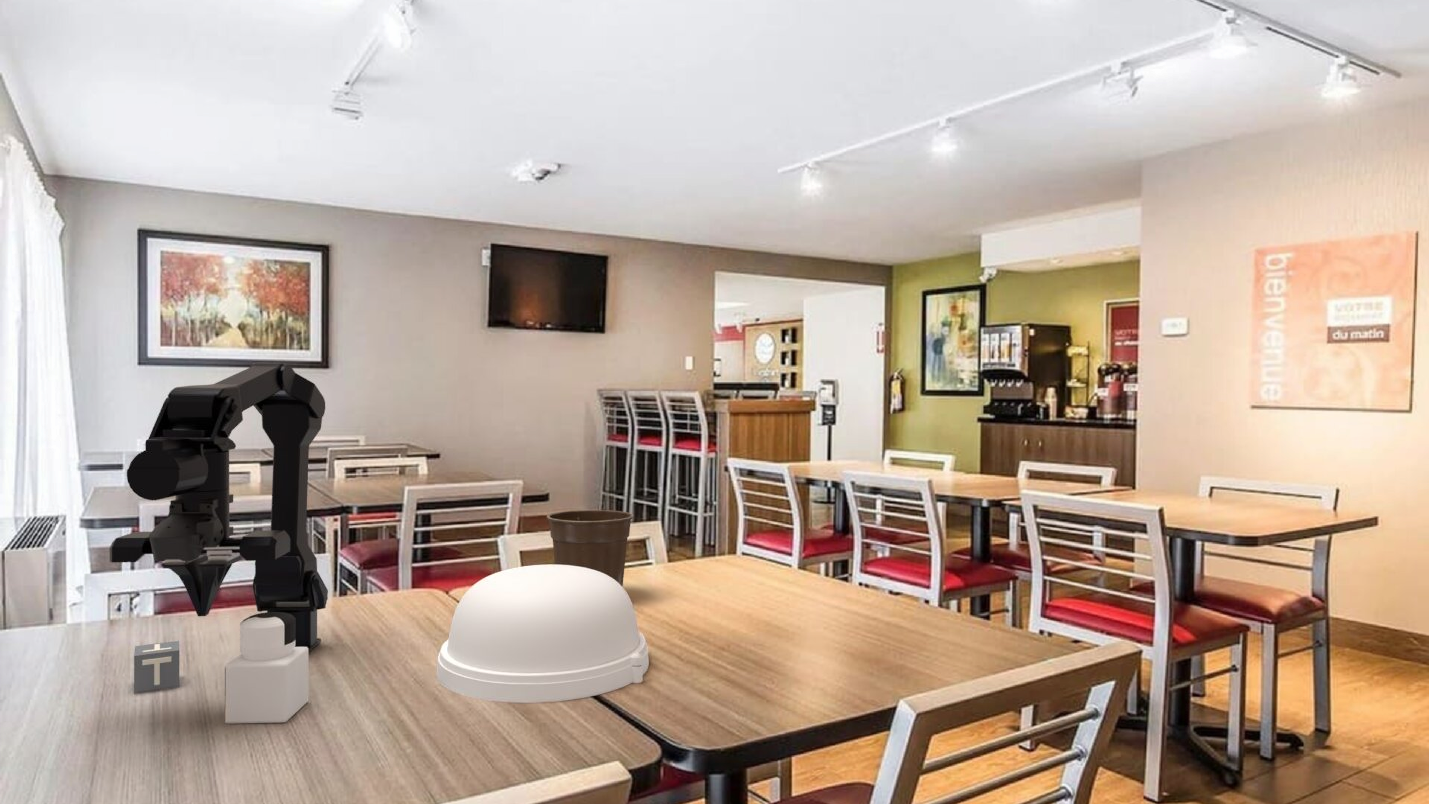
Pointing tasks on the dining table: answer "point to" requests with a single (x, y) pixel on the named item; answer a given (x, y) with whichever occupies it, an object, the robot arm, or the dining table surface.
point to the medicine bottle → (266, 672)
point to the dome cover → (543, 637)
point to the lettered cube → (156, 667)
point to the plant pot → (591, 540)
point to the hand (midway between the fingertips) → (203, 615)
